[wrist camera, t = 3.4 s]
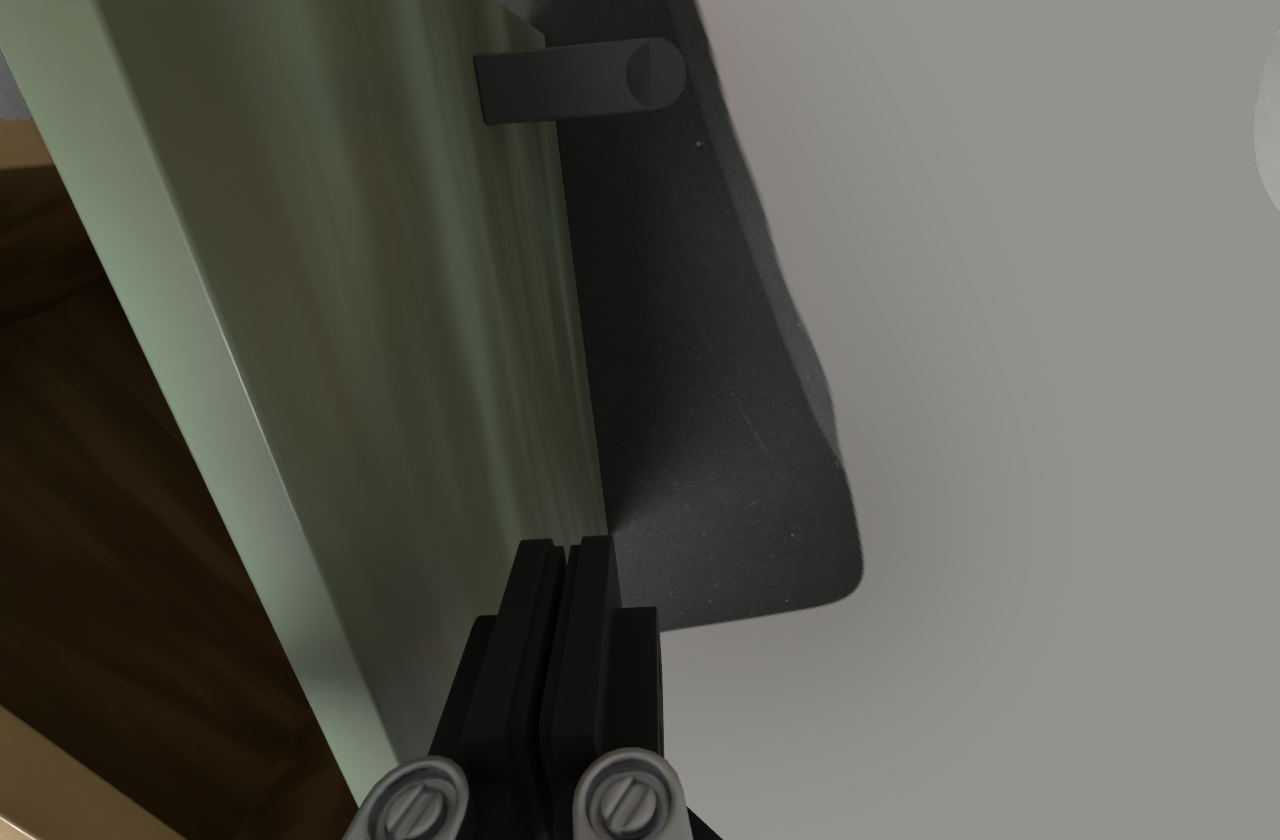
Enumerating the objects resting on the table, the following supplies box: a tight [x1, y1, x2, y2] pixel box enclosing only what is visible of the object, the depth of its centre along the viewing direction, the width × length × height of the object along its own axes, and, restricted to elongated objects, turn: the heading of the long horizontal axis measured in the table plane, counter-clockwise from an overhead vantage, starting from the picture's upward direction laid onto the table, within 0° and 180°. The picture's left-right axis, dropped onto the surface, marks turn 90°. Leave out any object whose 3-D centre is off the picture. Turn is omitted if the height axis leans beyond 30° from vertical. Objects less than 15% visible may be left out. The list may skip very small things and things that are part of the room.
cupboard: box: [0, 119, 359, 840], centre depth 23 cm, size 18×26×24 cm
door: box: [0, 0, 686, 808], centre depth 20 cm, size 6×26×24 cm, turn 5°
